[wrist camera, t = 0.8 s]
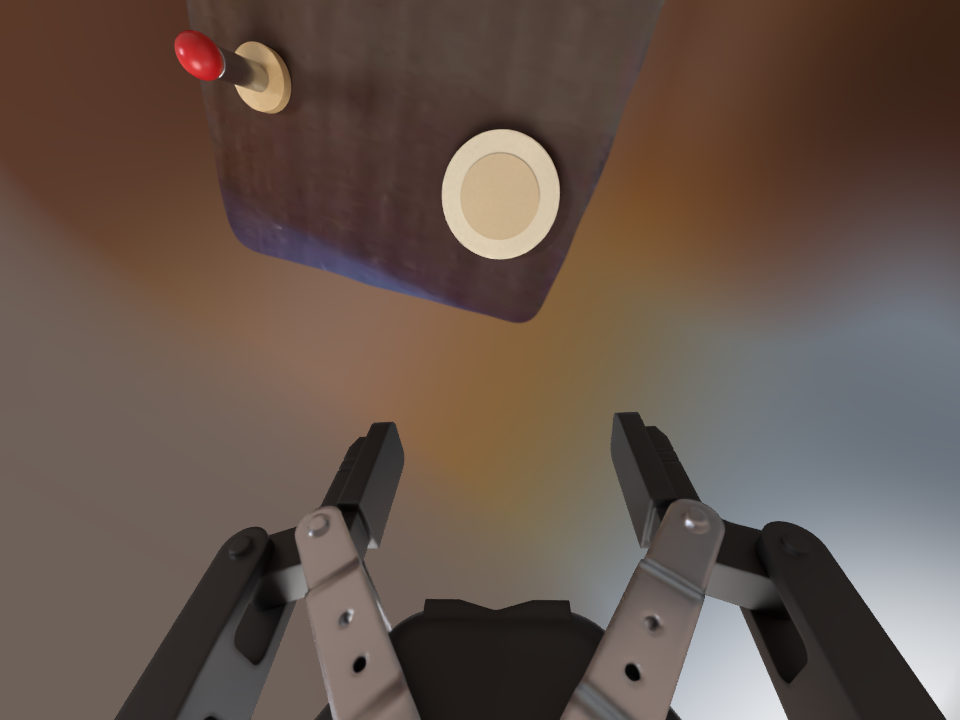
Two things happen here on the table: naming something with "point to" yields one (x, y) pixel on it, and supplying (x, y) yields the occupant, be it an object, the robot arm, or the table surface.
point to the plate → (500, 194)
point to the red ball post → (238, 69)
